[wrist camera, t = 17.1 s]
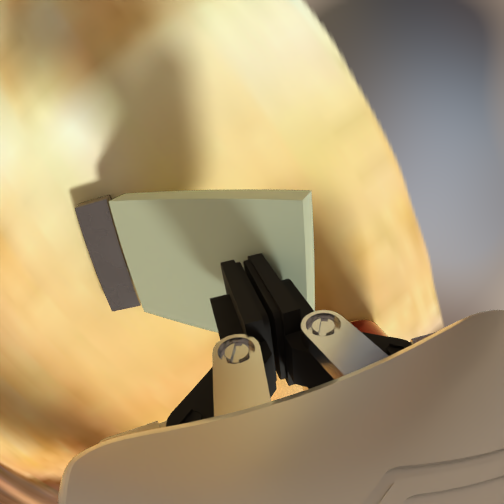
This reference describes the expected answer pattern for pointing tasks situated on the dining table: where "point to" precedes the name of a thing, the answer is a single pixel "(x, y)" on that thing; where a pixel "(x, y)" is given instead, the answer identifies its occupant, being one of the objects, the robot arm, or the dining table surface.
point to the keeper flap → (211, 244)
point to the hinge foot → (107, 253)
